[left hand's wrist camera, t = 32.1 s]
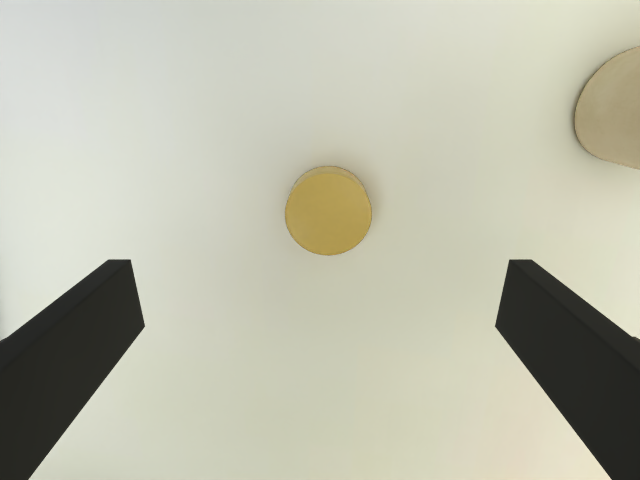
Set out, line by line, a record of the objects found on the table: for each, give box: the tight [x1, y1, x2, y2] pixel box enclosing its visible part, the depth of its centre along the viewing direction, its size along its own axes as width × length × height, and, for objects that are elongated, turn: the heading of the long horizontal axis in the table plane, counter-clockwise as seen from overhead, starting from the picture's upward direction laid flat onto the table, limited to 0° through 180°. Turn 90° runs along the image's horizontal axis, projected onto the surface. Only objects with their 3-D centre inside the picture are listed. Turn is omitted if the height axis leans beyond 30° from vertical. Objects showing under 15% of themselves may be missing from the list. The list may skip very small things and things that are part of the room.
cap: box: [285, 166, 372, 255], centre depth 20 cm, size 5×5×2 cm
